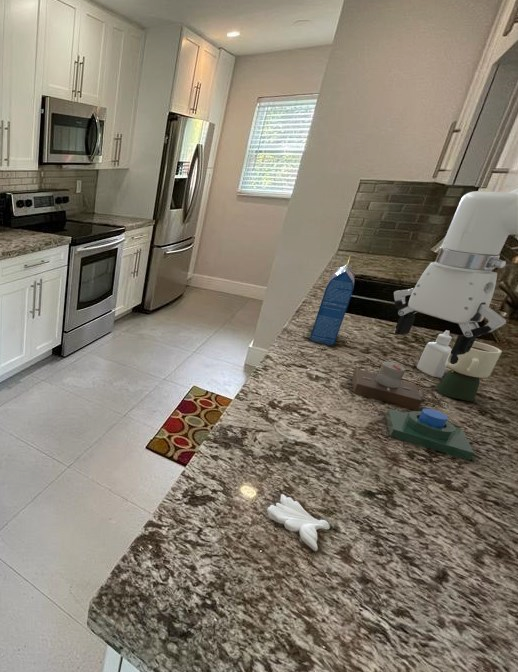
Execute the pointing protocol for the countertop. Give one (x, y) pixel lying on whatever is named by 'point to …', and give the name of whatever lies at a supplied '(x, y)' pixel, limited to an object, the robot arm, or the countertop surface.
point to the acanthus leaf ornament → (297, 520)
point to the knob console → (386, 390)
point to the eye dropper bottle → (435, 356)
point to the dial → (390, 374)
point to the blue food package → (333, 306)
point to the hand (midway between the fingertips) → (428, 343)
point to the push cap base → (428, 434)
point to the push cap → (433, 418)
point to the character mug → (468, 371)
